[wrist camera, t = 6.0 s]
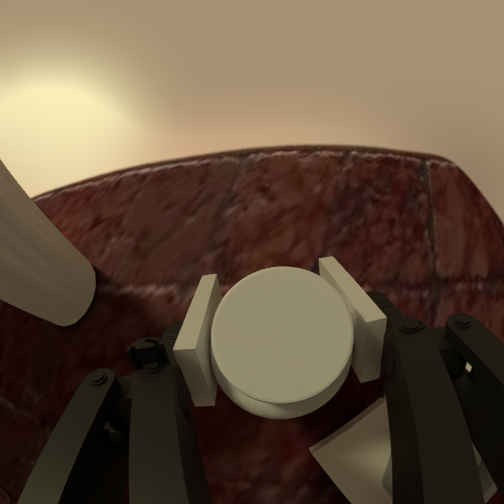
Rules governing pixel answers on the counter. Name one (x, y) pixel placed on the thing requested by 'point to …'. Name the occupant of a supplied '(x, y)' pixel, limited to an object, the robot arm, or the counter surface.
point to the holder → (371, 457)
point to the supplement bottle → (281, 342)
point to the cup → (39, 261)
